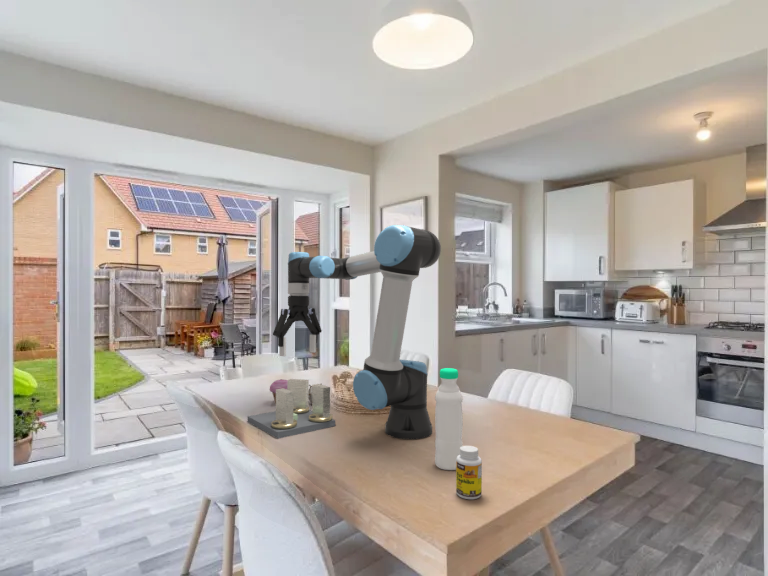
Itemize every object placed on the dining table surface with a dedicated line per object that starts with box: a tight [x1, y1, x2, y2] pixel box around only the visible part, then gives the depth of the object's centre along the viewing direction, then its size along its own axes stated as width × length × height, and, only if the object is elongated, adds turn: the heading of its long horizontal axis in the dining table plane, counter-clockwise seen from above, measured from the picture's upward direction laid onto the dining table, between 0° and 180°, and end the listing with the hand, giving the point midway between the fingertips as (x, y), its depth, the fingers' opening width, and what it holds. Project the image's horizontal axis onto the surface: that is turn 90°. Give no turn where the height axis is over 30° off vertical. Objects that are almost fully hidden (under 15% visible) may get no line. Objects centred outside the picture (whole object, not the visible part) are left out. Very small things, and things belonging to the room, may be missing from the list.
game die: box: [308, 383, 323, 407], centre depth 178 cm, size 9×8×10 cm
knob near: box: [271, 388, 297, 429], centre depth 142 cm, size 8×8×11 cm
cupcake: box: [269, 379, 289, 405], centre depth 178 cm, size 9×9×10 cm
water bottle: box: [434, 367, 464, 471], centre depth 114 cm, size 7×7×25 cm
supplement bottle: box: [455, 445, 483, 500], centre depth 98 cm, size 6×6×10 cm
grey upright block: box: [309, 383, 334, 422], centre depth 149 cm, size 8×8×11 cm
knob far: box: [287, 378, 310, 414], centre depth 159 cm, size 8×8×11 cm
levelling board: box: [246, 409, 336, 440], centre depth 151 cm, size 23×21×4 cm
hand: (298, 354), depth 159 cm, fingers open, 13 cm apart
